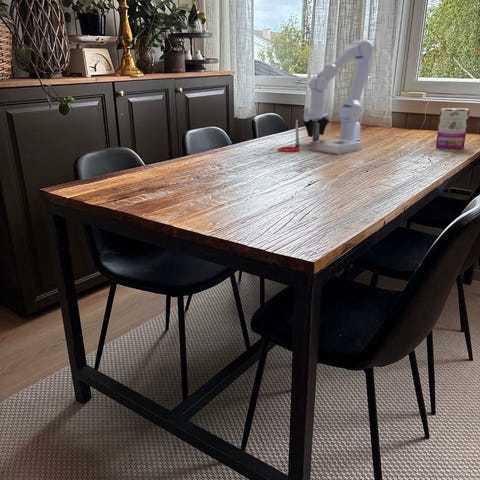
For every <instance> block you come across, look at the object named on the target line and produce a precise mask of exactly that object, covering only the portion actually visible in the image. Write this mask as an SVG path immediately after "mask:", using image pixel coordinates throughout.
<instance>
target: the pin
mask: <svg viewBox="0 0 480 480" xmlns="http://www.w3.org/2000/svg"><path fill="white" fill-rule="evenodd" d="M319 129H320V124H319V123H318V122H317V123H315V125H314V129H313V136H312V138H311V139H312V141H311V142H314V141H319V140H320V135H319Z"/></svg>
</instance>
